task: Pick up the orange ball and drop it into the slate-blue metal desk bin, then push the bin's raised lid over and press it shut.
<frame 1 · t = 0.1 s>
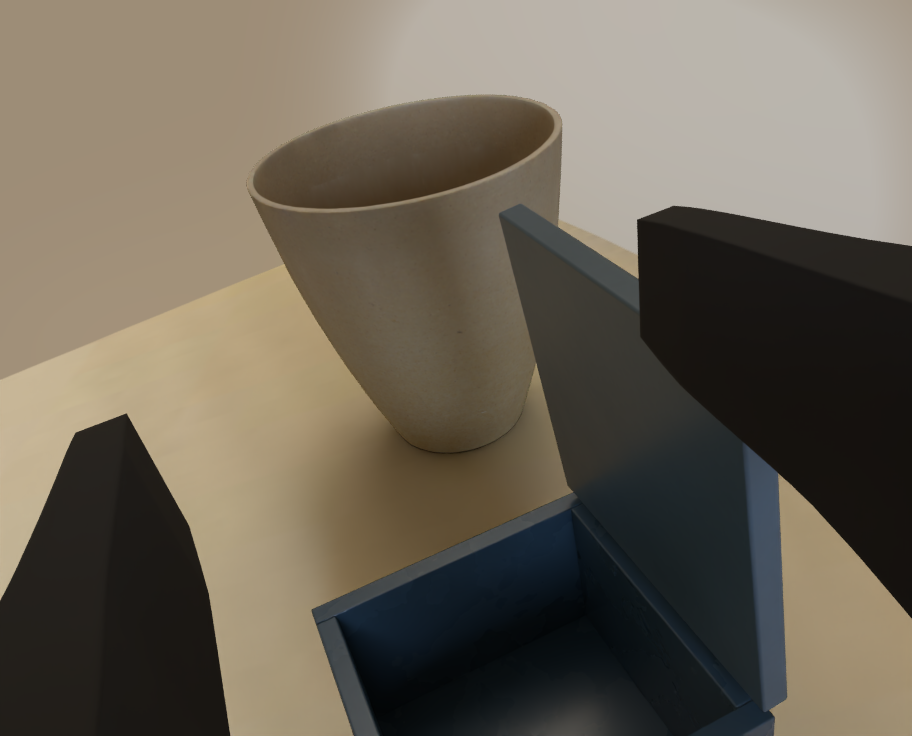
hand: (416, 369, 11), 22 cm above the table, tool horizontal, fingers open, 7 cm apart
bin lid: (636, 445, 22), point 13 cm above the table, hinge at 85.0°
plant pot: (462, 413, 46), on the table
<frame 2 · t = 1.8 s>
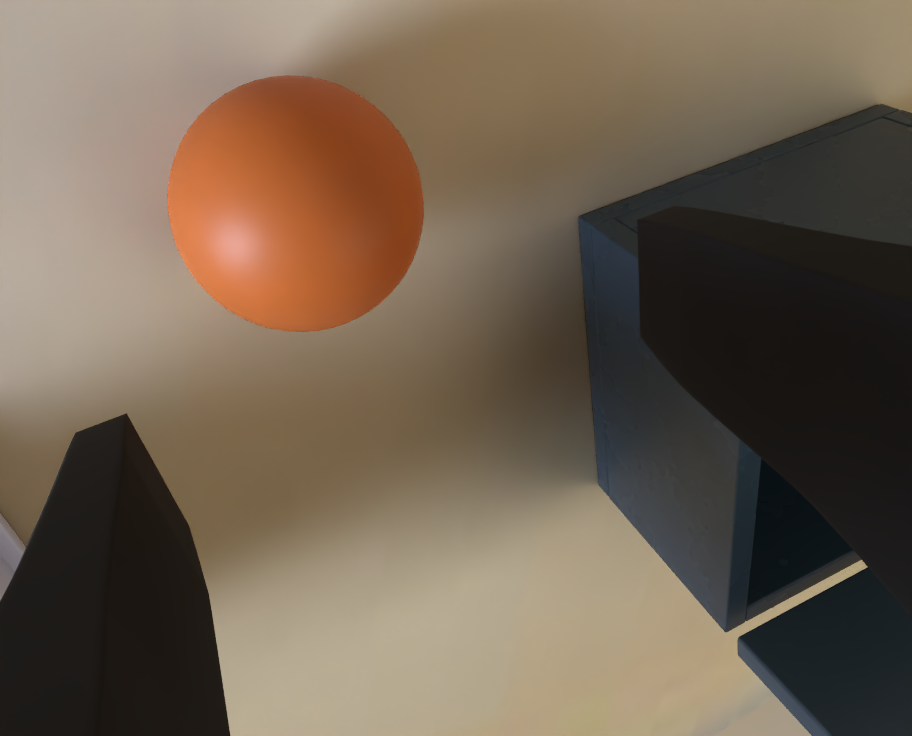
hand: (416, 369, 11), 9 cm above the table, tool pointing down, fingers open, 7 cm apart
orange ball: (299, 207, 15), point 2 cm above the table
bin: (728, 308, 26), on the table
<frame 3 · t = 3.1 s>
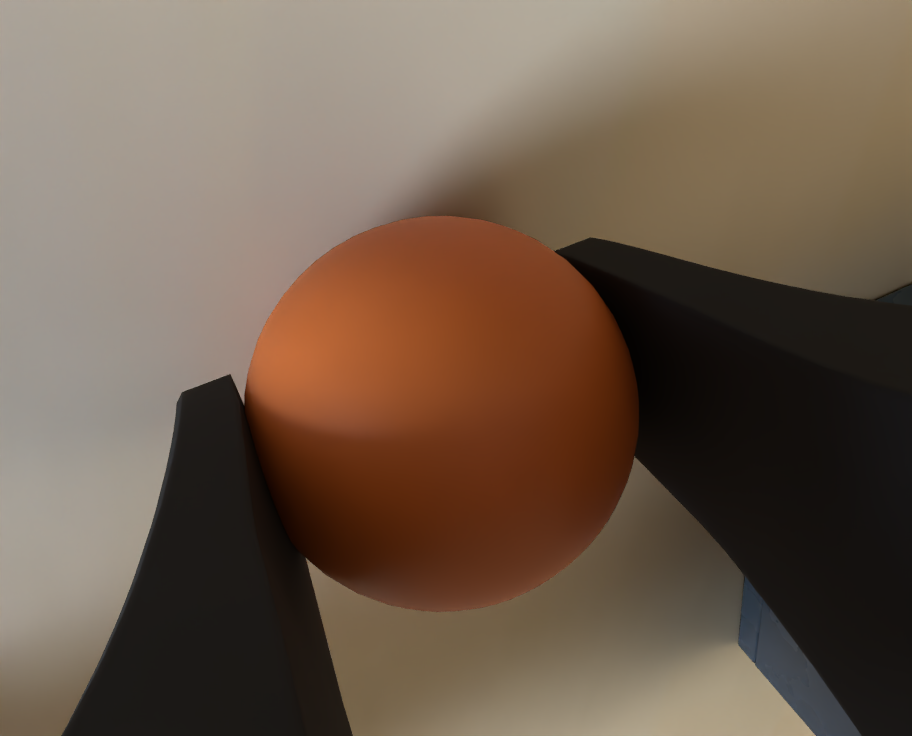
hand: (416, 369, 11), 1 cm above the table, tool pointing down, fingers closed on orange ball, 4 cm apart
orange ball: (442, 411, 10), point 2 cm above the table, touching gripper
when the fingers open (6 cm above the table, at t = 7.6 s): orange ball drops 4 cm, resting on bin.
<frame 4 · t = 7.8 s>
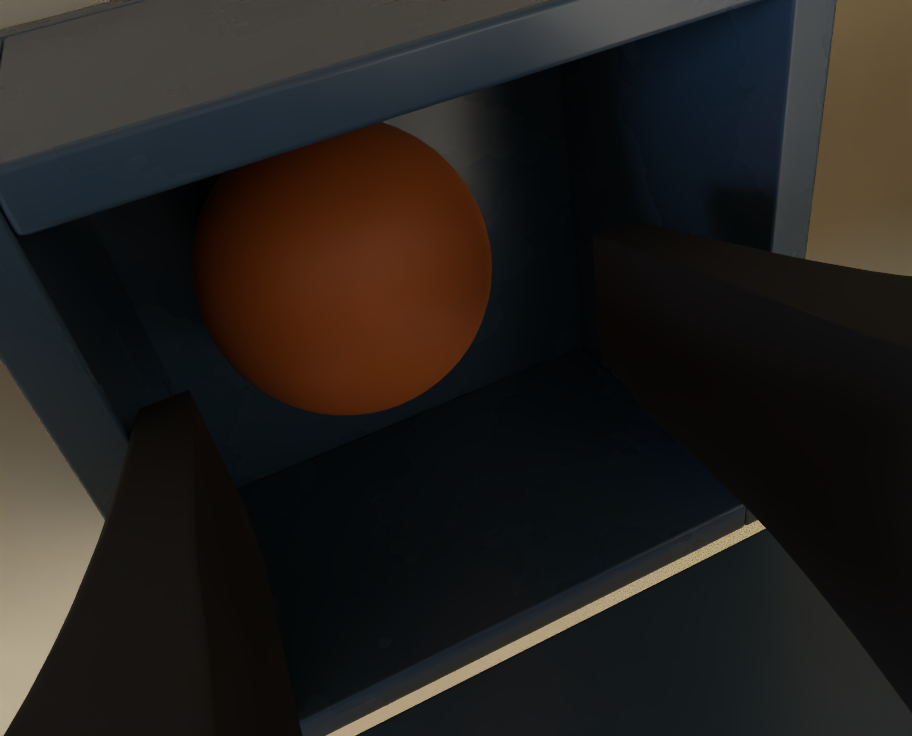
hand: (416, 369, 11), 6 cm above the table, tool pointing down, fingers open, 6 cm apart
orange ball: (345, 269, 13), point 3 cm above the table, touching bin
bin: (359, 233, 16), on the table
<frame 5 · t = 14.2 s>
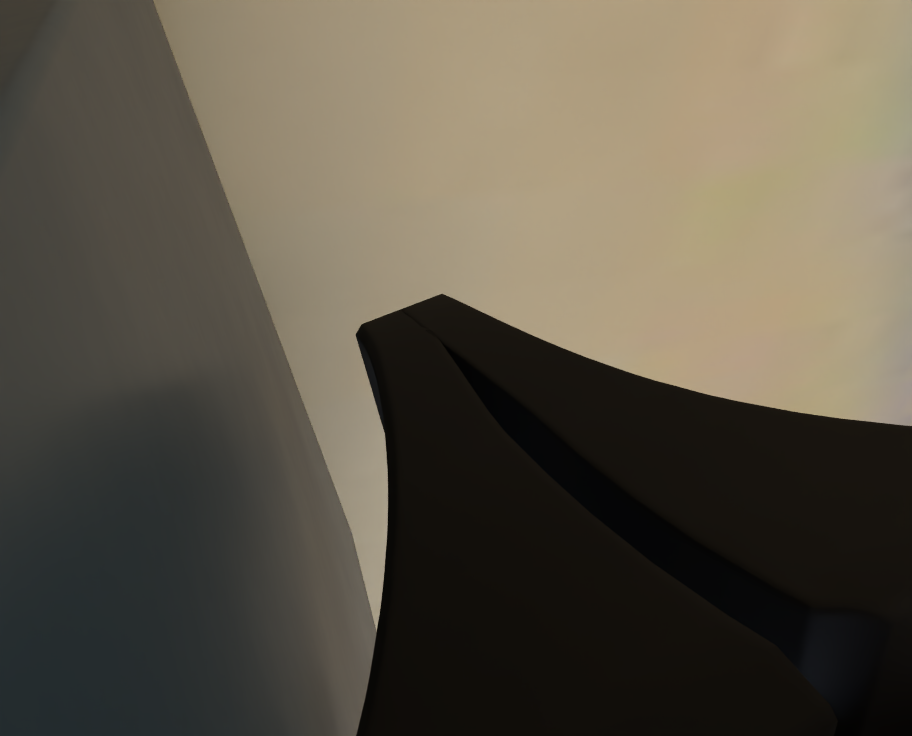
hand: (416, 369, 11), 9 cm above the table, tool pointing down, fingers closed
bin lid: (281, 614, 7), point 13 cm above the table, hinge at 82.7°, touching gripper
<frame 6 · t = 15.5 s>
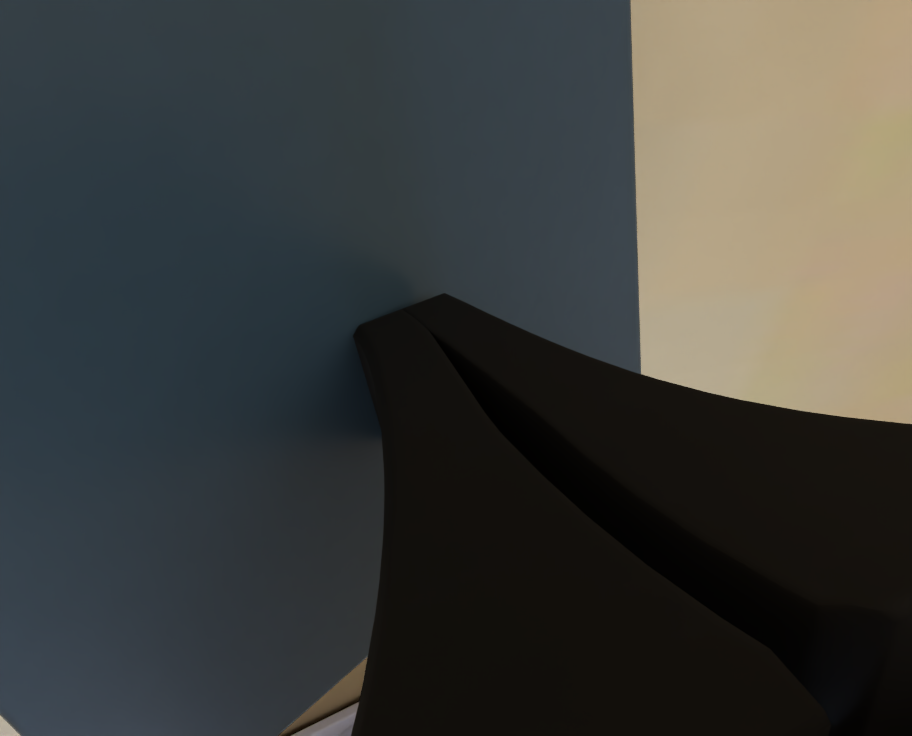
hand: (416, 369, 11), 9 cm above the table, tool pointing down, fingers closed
bin lid: (353, 341, 11), point 9 cm above the table, hinge at 19.1°, touching gripper
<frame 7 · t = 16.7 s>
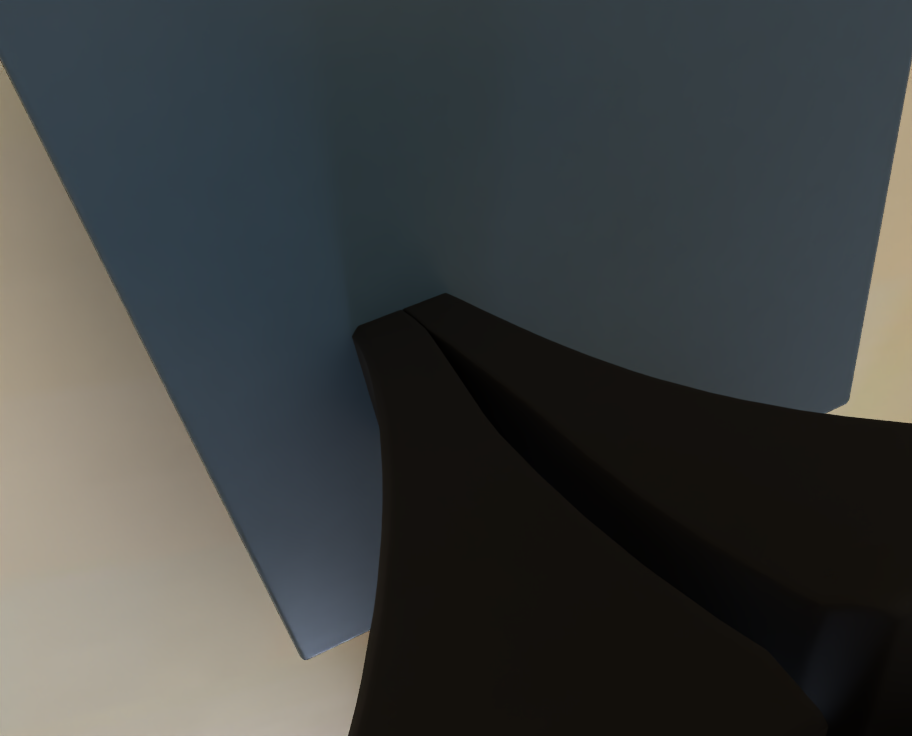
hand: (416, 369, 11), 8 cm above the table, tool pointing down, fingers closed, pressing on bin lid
bin lid: (568, 261, 11), point 7 cm above the table, hinge at 0.1°, touching gripper
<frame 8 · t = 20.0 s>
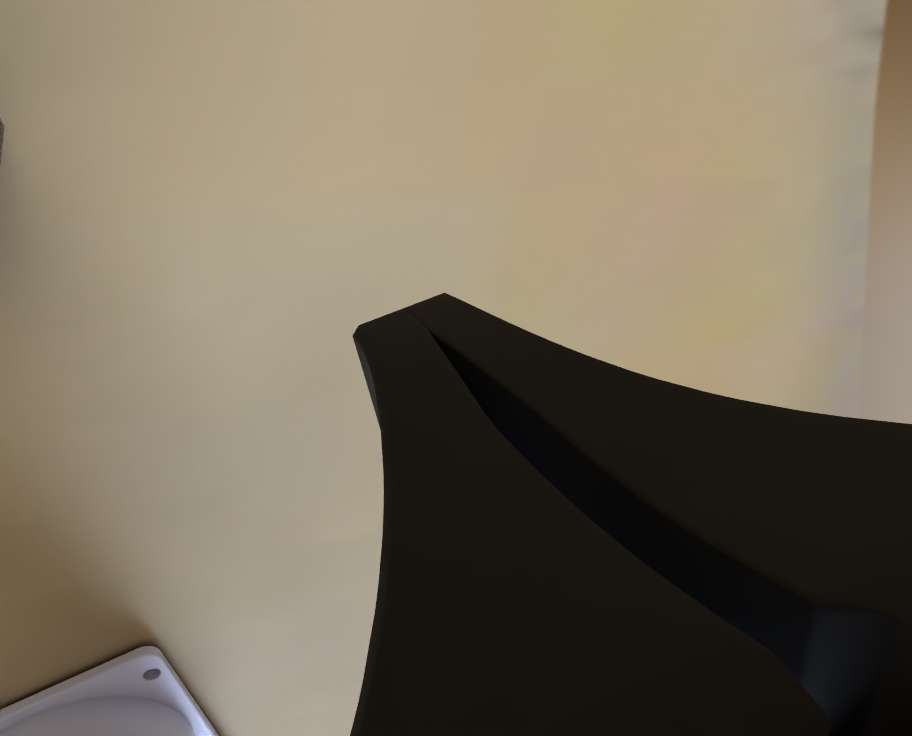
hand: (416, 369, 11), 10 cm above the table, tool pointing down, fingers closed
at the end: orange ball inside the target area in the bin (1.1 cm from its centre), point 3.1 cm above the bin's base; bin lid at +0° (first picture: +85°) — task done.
